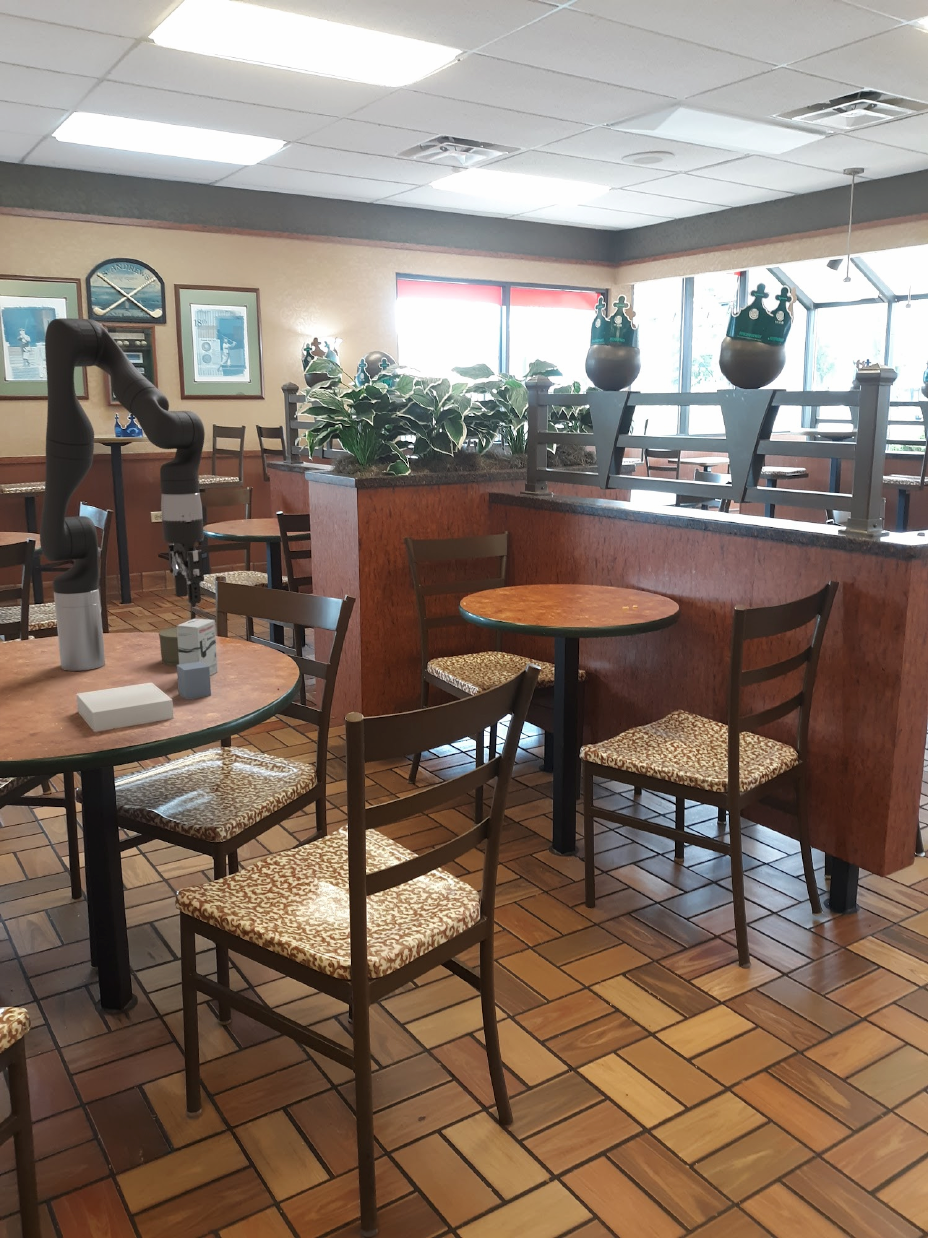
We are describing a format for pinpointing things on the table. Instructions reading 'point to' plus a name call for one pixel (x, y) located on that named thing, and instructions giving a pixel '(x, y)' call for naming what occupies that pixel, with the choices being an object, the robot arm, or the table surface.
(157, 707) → the white square slab
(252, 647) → the table surface
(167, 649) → the can
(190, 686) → the slate block
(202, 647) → the ink box
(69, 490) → the robot arm
